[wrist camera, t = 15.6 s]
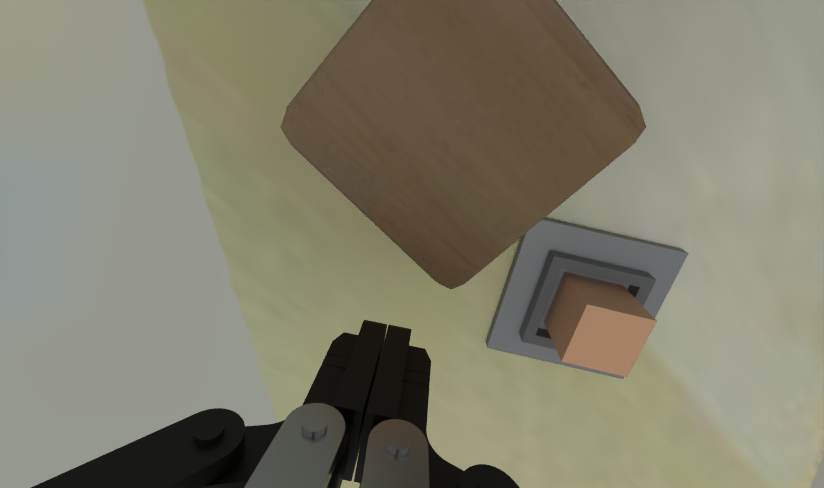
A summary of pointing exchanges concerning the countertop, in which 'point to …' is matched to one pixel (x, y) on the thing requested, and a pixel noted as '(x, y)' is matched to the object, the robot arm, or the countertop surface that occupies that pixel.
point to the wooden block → (461, 123)
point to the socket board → (583, 255)
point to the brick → (597, 324)
